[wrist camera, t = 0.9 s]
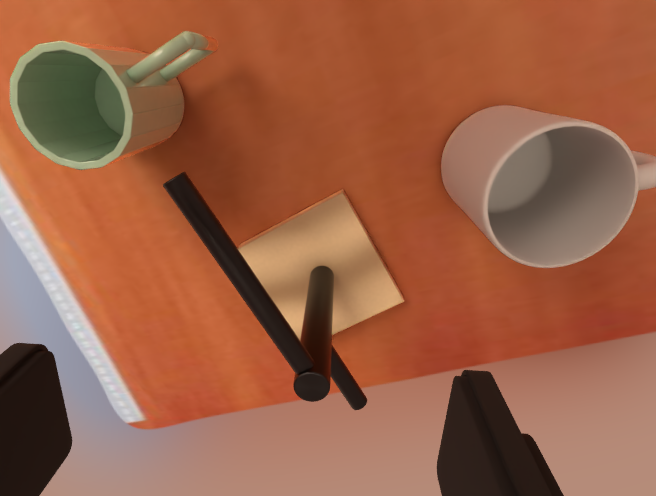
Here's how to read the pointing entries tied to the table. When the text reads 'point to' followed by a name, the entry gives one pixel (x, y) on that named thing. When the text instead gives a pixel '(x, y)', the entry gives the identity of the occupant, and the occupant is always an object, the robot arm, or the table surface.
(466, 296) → the table surface
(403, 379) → the table surface
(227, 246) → the mug holder
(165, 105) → the small mug
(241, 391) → the table surface
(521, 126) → the mug
